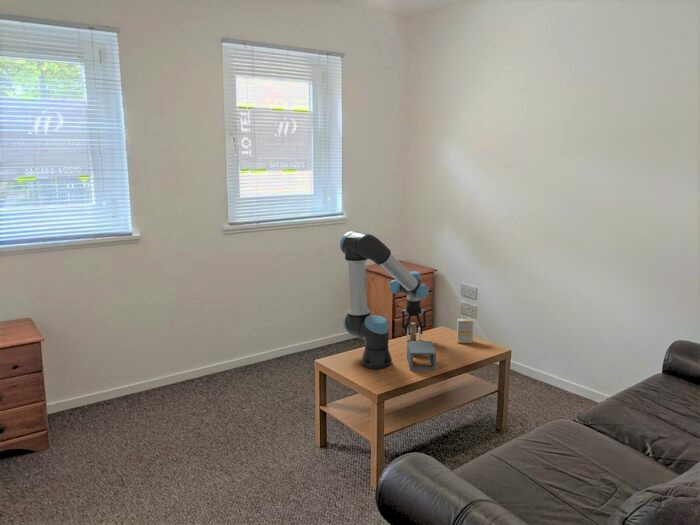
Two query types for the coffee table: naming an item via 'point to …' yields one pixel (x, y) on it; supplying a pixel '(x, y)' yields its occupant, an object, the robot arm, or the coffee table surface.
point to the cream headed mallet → (413, 333)
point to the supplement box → (464, 330)
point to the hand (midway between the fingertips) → (413, 339)
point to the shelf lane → (421, 353)
